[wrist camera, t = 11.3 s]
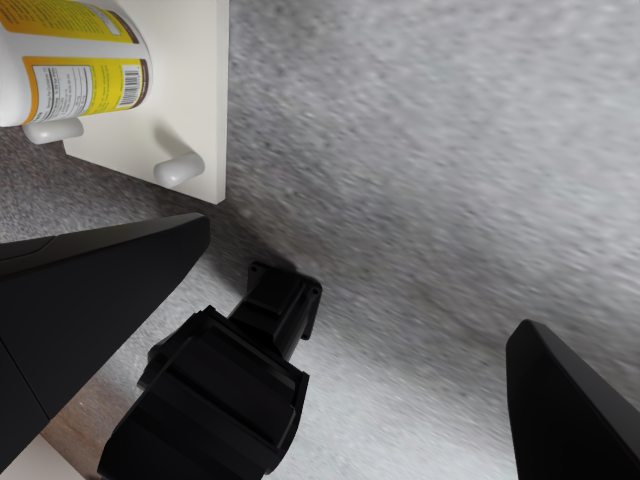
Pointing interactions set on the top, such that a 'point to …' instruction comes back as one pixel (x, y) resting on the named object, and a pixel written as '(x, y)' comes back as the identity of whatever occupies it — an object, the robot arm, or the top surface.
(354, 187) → the top surface
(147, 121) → the pin tray
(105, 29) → the supplement bottle
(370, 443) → the top surface
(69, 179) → the top surface
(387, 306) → the top surface
